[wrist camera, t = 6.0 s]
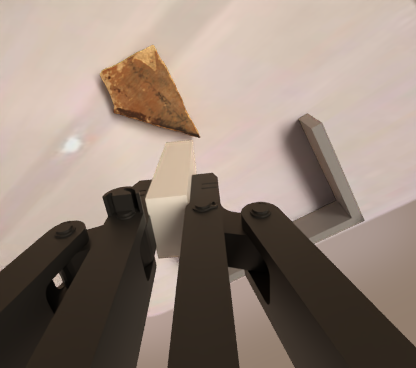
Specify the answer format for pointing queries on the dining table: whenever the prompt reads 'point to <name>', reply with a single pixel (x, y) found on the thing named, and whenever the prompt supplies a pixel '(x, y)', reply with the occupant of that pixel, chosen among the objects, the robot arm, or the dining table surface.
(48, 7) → the dining table surface
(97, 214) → the dining table surface
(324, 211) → the box
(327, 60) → the dining table surface
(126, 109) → the shard
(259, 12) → the dining table surface
